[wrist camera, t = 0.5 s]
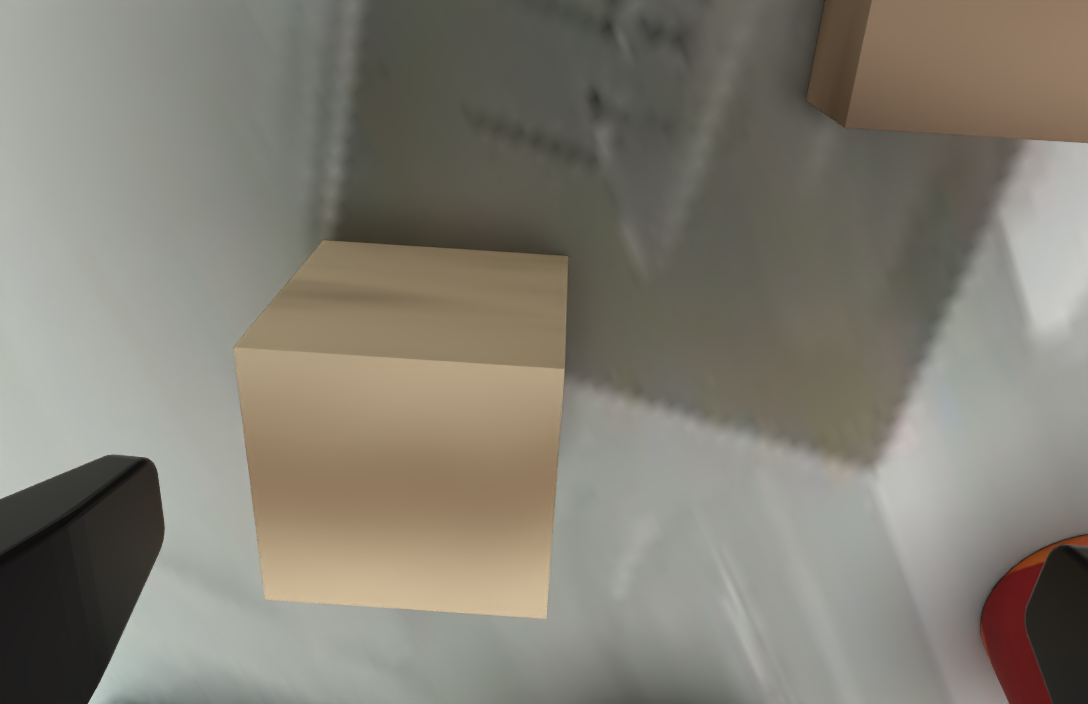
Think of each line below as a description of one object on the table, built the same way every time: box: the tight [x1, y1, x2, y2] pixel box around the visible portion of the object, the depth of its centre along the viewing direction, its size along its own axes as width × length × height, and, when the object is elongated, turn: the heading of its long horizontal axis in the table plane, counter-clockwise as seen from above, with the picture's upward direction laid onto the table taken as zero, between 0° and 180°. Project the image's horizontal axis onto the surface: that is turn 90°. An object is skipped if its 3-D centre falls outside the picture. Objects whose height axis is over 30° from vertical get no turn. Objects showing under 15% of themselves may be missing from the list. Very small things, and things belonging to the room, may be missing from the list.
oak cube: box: [233, 240, 568, 619], centre depth 19 cm, size 6×6×6 cm
